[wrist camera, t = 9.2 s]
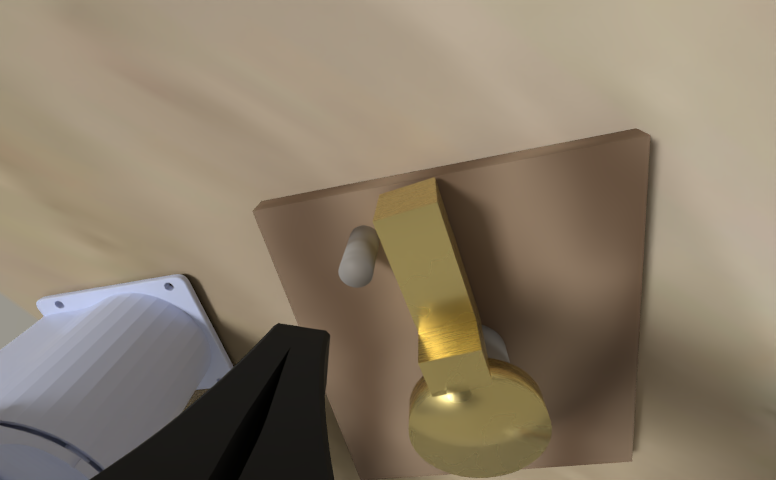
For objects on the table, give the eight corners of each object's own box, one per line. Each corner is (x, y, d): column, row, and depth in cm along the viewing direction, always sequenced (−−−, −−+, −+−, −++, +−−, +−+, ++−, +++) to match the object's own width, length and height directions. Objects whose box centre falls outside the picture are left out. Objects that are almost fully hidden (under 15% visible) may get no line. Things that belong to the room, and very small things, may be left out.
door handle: (537, 385, 22) (563, 466, 18) (430, 406, 24) (432, 485, 19) (476, 163, 17) (493, 207, 13) (342, 206, 18) (319, 258, 14)
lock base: (363, 463, 29) (353, 532, 25) (261, 201, 20) (222, 243, 16) (623, 443, 26) (658, 517, 22) (636, 128, 17) (698, 158, 13)
